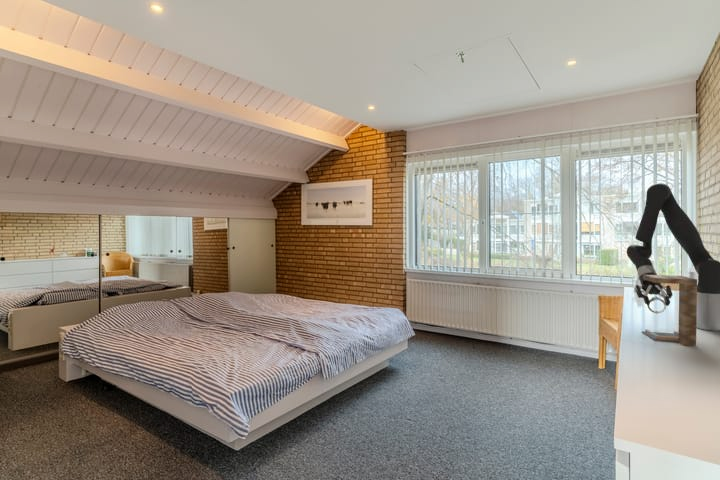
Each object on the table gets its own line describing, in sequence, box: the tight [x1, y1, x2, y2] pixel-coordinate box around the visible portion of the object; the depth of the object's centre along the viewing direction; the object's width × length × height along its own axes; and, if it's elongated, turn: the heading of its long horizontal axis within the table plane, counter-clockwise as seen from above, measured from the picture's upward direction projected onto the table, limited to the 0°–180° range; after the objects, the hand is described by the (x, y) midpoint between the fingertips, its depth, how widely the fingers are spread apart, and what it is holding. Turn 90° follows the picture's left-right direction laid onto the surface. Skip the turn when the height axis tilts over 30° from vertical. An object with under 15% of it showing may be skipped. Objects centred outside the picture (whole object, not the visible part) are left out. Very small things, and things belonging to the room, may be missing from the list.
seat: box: [641, 328, 679, 343], centre depth 170 cm, size 14×14×2 cm
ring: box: [646, 295, 667, 315], centre depth 183 cm, size 7×3×8 cm, turn 49°
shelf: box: [643, 274, 698, 347], centre depth 165 cm, size 14×14×27 cm
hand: (658, 304), depth 181 cm, fingers closed on ring, 7 cm apart
